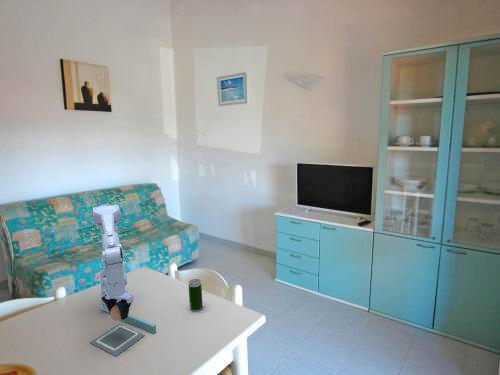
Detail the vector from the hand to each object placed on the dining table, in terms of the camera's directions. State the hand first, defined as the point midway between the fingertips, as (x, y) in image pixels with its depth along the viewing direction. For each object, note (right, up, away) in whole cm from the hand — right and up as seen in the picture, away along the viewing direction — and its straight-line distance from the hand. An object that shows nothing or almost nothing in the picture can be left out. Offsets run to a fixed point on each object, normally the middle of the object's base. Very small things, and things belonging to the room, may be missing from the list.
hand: (119, 315), depth 110 cm
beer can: (+24, -5, +19) cm, 31 cm away
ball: (0, -1, 0) cm, 1 cm away
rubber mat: (-1, -9, 0) cm, 9 cm away
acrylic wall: (+3, -7, +8) cm, 11 cm away
